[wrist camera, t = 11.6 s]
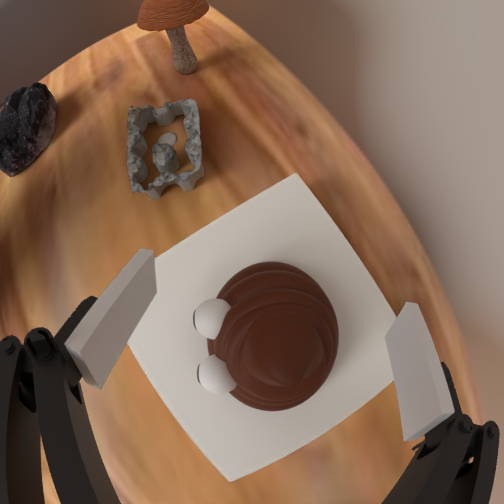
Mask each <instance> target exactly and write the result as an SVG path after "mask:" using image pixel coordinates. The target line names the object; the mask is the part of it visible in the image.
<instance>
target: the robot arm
mask: <svg viewBox="0 0 504 504" xmlns="http://www.w3.org/2000/svg"><path fill="white" fill-rule="evenodd" d="M156 294H157V284H156V272H155V258H154V251H153V250H148V249H144V248H140V249H139V251H138V252H137V253H136V254H135V255H134V256H133V257H132V258H131V260H130V261H129V262H128V263H127V264H126V265H125V267H124V268H123V269H122V270H121V271H120V272H119V274H118V275H117V276H116V277H115V278H114V280H113V281H112V282H111V283H110V284H109V286H108V287H107V288H106V289H105V291H104V292H103V293H102V294H101V296H100V297H99V298H96V297H94V296H90V297H88V298H87V299H85V300H84V301H82V302H81V303H80V305H79V306H78V307H77V308H76V311H74V312H73V313H72V315H71V317H69V318H68V320H67V321H66V322H65V323H64V325H63V326H62V327H61V329H60V330H59V331H58V333H57V334H56V335H55V337H54V338H53V336H52V334H51V332H50V331H49V330H48V329H46V328H43V327H39V328H35V329H32V330H31V331H30V332H29V333H28V334H27V335H26V337H25V340H24V344H25V345H22V344H21V342H20V340H19V339H18V338H17V337H16V336H13V335H11V336H7V337H5V338H3V339H2V340H1V341H0V504H45V500H44V493H43V484H42V472H41V449H40V435H41V437H42V442H43V446H44V451H45V455H46V459H47V462H48V466H49V470H50V473H51V476H52V480H53V483H54V486H55V489H56V492H57V494H58V497H59V500H60V502H61V504H121V503H120V501H119V499H118V496H117V494H116V492H115V490H114V488H113V485H112V483H111V481H110V479H109V476H108V474H107V471H106V469H105V466H104V464H103V461H102V458H101V455H100V453H99V450H98V447H97V444H96V441H95V438H94V435H93V431H92V428H91V425H90V421H89V418H88V414H87V410H86V406H85V402H84V398H83V394H82V389H81V385H80V383H79V381H80V379H81V378H82V377H83V378H84V380H85V381H86V383H88V384H90V385H92V386H94V387H96V388H98V389H100V390H101V389H102V387H103V385H104V383H105V381H106V379H107V377H108V376H109V374H110V372H111V370H112V368H113V367H114V365H115V363H116V361H117V359H118V358H119V356H120V354H121V352H122V351H123V349H124V347H125V345H126V344H127V342H128V340H129V338H130V337H131V335H132V333H133V332H134V330H135V328H136V326H137V325H138V323H139V321H140V320H141V318H142V316H143V315H144V313H145V312H146V310H147V308H148V307H149V305H150V303H151V302H152V300H153V299H154V297H155V295H156ZM385 341H386V346H387V350H388V354H389V358H390V363H391V368H392V372H393V377H394V382H395V387H396V393H397V398H398V404H399V410H400V417H401V424H402V431H403V439H404V441H412V440H417V439H419V438H420V437H422V436H423V435H425V440H424V441H422V442H420V443H419V444H417V445H416V446H414V447H413V448H412V449H411V450H415V449H416V448H418V447H419V448H418V450H417V451H415V452H416V453H415V455H414V457H413V458H412V460H411V462H410V463H409V465H408V466H407V468H406V470H405V471H404V473H403V474H402V476H401V477H400V479H399V480H398V482H397V483H396V485H395V486H394V488H393V489H392V490H391V492H390V493H389V494H388V496H387V497H386V498H385V500H384V501H383V502H382V504H488V503H489V500H490V496H491V492H492V487H493V482H494V475H495V471H496V463H497V456H498V447H499V428H498V426H497V424H496V423H495V422H494V421H488V422H486V423H485V424H484V425H482V426H480V425H476V424H473V422H472V420H471V418H470V417H469V416H468V415H466V414H462V411H461V408H460V404H459V400H458V397H457V393H456V390H455V388H454V384H453V381H452V377H451V374H450V371H449V369H448V368H447V366H446V365H445V363H444V362H440V360H439V357H438V354H437V351H436V349H435V346H434V343H433V341H432V338H431V335H430V333H429V330H428V328H427V325H426V323H425V320H424V318H423V315H422V313H421V311H420V308H419V306H418V304H417V303H411V302H406V303H405V305H404V307H403V308H402V310H401V312H400V313H399V315H398V316H397V318H396V320H395V321H394V323H393V324H392V326H391V328H390V329H389V331H388V332H387V334H386V335H385ZM472 457H474V459H473V462H472V463H470V464H469V460H470V458H472Z"/></svg>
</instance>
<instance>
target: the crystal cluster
mask: <svg viewBox="0 0 504 504" xmlns="http://www.w3.org/2000/svg"><path fill="white" fill-rule="evenodd" d="M56 110H57V104H56V101H55V99H54V97H53V95H52V94H51V92H50V91H49V90H48V88H47V86H46V85H45V84H41V83H39V82H37V83H33V85H32V86H31V87H22V88H20V89H18V90H16V91H15V92H12V93H11V94H10V95H8V96H7V97H6V99H5V102H4V108H3V109H2V110H1V112H0V169H1V171H3V172H4V173H6V174H7V175H8V176H10V177H12V176H14V175H16V174H17V173H18V172H19V171H21V170H23V169H24V168H25V167H27V166H28V165H29V164H30V163H31V162H32V161H33V160H35V158H36V157H37V156H38V155H39V153H40V152H41V151H42V150H44V149H45V148H46V147H47V146H48V144H49V143H50V140H51V137H52V135H53V133H54V130H55V128H56V125H55V118H56Z"/></svg>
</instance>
